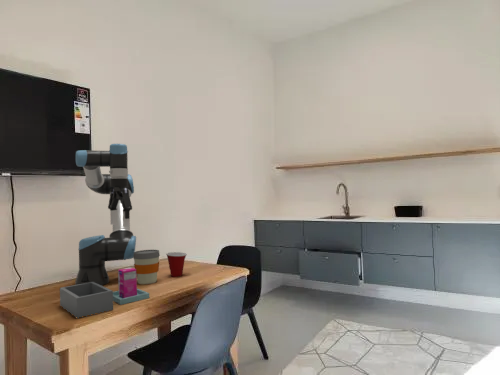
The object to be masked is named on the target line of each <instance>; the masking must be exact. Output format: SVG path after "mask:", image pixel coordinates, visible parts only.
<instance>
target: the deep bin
mask: <svg viewBox="0 0 500 375" xmlns="http://www.w3.org/2000/svg"><path fill="white" fill-rule="evenodd" d="M113 292H114V290H112V289H110V288H108V287H106V286H103V285H99V284H97V283H95V282H89V283H83V284H78V285H75V284H74V285H68V286H62V287H59V306H60V307H61V306H62V307H63V308H62V307H61V308H62V309H64V310H65V309H66V310H67V311H66V310H65V311H66V312H68V313H69V312H70V313H71V314H70V313H69V314H70V315H72V314H73V315H74V316H75V317H74V316H73V315H72V316H73V317H74V318H76V317H77V318H78V319H80V318H79V317H82V316H86V317H88V316H87V315H90V316H92V315H91V314H94V315H96V314H95V313H98V314H101V313H100V312H102V313H105V312H104V311H106V312H109V310H110V311H114V301H113ZM77 318H76V319H77ZM82 318H83V317H82Z"/></svg>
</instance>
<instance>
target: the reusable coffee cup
mask: <svg viewBox="0 0 500 375" xmlns="http://www.w3.org/2000/svg"><path fill="white" fill-rule="evenodd" d="M135 251H136V252H134V257H133V258H132V259H133V260H134V261H135V264H133V266H134V269H136V278H137V284H138V285H139V284H140V285H149V284H154V283H157V279H158V272H159V268H160V256H161V255H160V250H159V249H142V250H135Z"/></svg>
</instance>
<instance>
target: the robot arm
mask: <svg viewBox="0 0 500 375" xmlns="http://www.w3.org/2000/svg"><path fill="white" fill-rule="evenodd" d="M128 152H129V150H128V145H126V143H111V144H110V145H109V150H92V149H91V150H86V149H84V150H83V149H82V150H76V151H75V164H76V166H77V167H80V168H81V167H82V168H83V171H84V175H85V178H84V181H85V184H86V186H87V188H89V189H90V190H91V191H93V192H94V193H97V194H100V195H109V199H108V200H109V201H108V204H107V205H108V206H107V209H108V210H109V213H110V217H109V218H110V225H111V226H112V232H110V234H109V237H105V235H104V234H101V235H100V234H99V235H93V236H89V237H85V238H81V239H80V240H79V242H78V271H77V276H76V277H75V282H74V285H78V284H83V283H89V282H95V283H97V284H99V285H101V286H103V285H107V284H108V283H109V282H110V277H109V274H108V271H107V269H106V262H112V261H113V262H114V261H126V260H130V259H131V260H132V259H134V258H133V257H134V252H135V251H136V247H137V246H136V244H137V237H136V235H134V233H133V232H132V231H131V223H130V221H131V220H130V219H131V216H130V213H131V211H132V210H133V205H132V201H131V197H132V195H133V194H134V193H135V186H134V179H133V176H132V175H131V174H129V168H128V167H129V166H128ZM102 167H106V168H107V167H109V170H108V172H109V173H102V169H101V168H102Z"/></svg>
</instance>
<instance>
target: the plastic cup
mask: <svg viewBox="0 0 500 375" xmlns="http://www.w3.org/2000/svg"><path fill="white" fill-rule="evenodd" d="M165 254H166V256H167V257H166V258H167V260H168V261H167V262H168V266H169V267H168V268H169V271H170V276H171V277H172V278H176V277H177V278H178V277H182V276H183V272H184V266H185V261H186V260H185V259H186V256H187V252H181V251H173V252H172V251H171V252H166V253H165Z"/></svg>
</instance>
